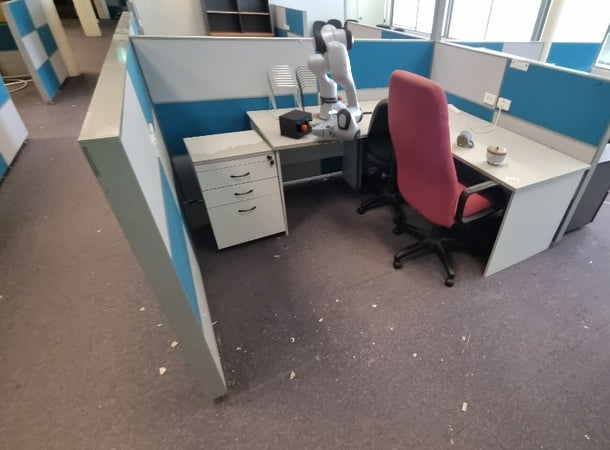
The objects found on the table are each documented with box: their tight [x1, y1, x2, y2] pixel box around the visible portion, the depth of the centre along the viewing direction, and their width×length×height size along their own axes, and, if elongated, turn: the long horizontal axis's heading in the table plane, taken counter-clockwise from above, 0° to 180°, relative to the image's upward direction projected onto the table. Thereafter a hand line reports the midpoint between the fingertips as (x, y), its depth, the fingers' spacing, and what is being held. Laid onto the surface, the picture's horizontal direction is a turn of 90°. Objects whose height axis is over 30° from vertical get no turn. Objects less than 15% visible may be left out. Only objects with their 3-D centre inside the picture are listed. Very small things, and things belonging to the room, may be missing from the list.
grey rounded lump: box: [456, 130, 475, 148], centre depth 200 cm, size 11×8×8 cm
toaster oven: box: [277, 109, 314, 140], centre depth 197 cm, size 18×13×11 cm
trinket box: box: [485, 145, 508, 166], centre depth 181 cm, size 11×11×9 cm
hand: (313, 124), depth 197 cm, fingers closed
